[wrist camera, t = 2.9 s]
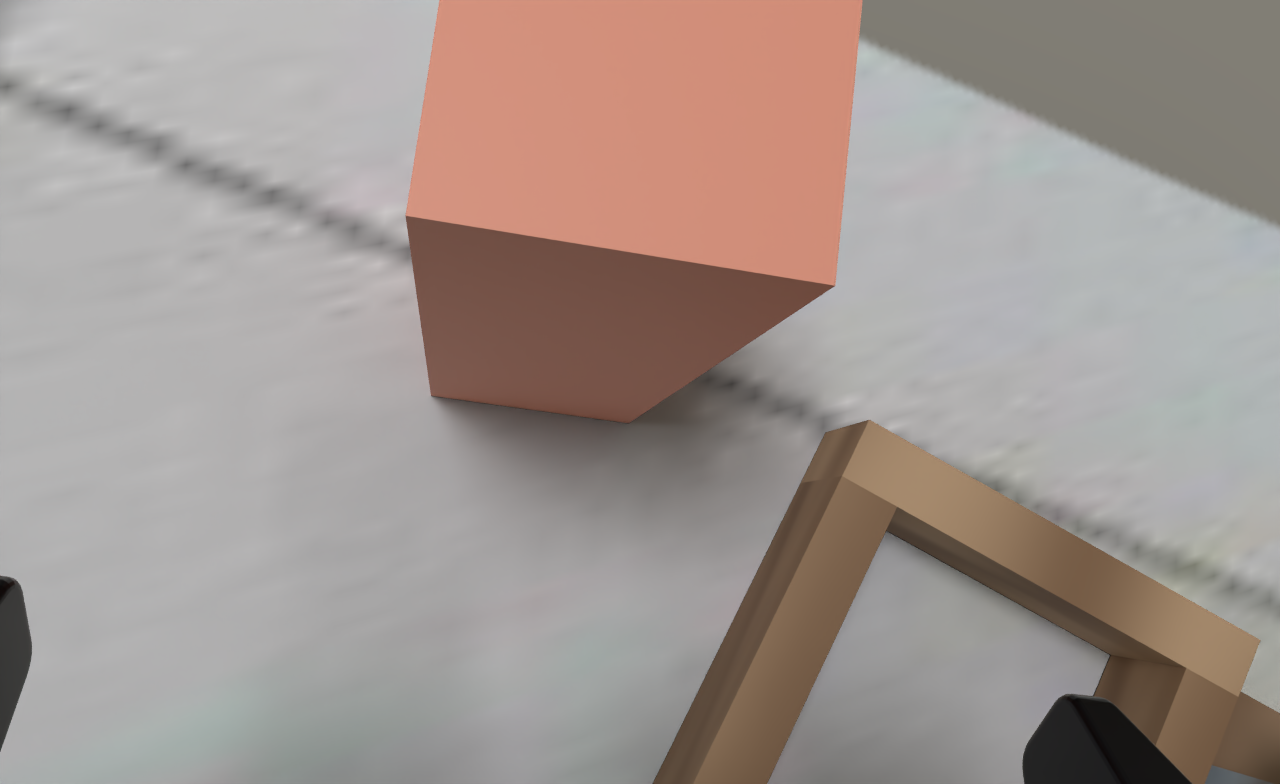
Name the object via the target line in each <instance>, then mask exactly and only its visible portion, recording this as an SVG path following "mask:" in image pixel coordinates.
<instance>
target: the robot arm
mask: <svg viewBox="0 0 1280 784" xmlns="http://www.w3.org/2000/svg"><path fill="white" fill-rule="evenodd" d="M31 655H32V642H31V636H30V630H29V625H28V619H27V614H26V608H25V603H24V597H23V592H22V589H21V586H20V584H19V583H18V581H16V580H15V579H14V578H11V577H5V576H0V751H1V748H2V745H3V742H4V740H5V737H6V734H7V731H8V728H9V725H10V722H11V720H12V717H13V714H14V711H15V708H16V705H17V703H18V700H19V697H20V694H21V691H22V688H23V685H24V683H25V680H26V677H27V674H28V671H29V667H30V662H31ZM1023 777H1024V784H1192V783H1191V782H1190V781H1189V780H1188V778H1187V777H1186V776H1185V775H1184V774H1183V773H1182V772H1181V771H1180V770H1179V769H1178V768H1177V767H1176V766H1175V765H1174V764H1173V763H1172V762H1171V761H1170V760H1169V759H1168V758H1167V757H1166V756H1165V755H1164V754H1163V753H1162V752H1161V751H1160V750H1159V749H1158V748H1157V747H1156V746H1155V745H1154V744H1153V743H1152V742H1151V741H1150V740H1149V739H1148V738H1147V737H1146V736H1145V735H1144V734H1143V733H1142V732H1141V731H1140V730H1139V729H1138V728H1137V727H1136V726H1135V724H1134V723H1133V722H1132V721H1131V720H1130V719H1129V718H1128V717H1127V716H1126V715H1125V714H1124V713H1123V712H1122V711H1121V710H1120V709H1119V708H1118V707H1117V706H1116V705H1114V704H1113V703H1112V702H1110V701H1109V700H1107V699H1105V698H1101V697H1095V696H1086V695H1077V694H1066V695H1064V696H1062V697H1060V698H1058V700H1057V701H1056V702H1055V703H1054V705H1053V706H1052V708H1051V709H1050V711H1049V712H1048V713H1047V715H1046V716H1045V718H1044V719H1043V721H1042V722H1041V724H1040V725H1039V727H1038V728H1037V730H1036V731H1035V733H1034V734H1033V736H1032V737H1031V739H1030V740H1029V742H1028V743H1027V745H1026V748H1025V751H1024V755H1023Z"/></svg>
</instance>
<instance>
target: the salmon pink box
mask: <svg viewBox="0 0 1280 784" xmlns="http://www.w3.org/2000/svg"><path fill="white" fill-rule="evenodd" d="M861 9H862V0H440V1H439V7H438V13H437V20H436V26H435V32H434V39H433V45H432V51H431V58H430V64H429V70H428V77H427V83H426V90H425V96H424V102H423V109H422V115H421V121H420V128H419V134H418V140H417V147H416V153H415V159H414V166H413V172H412V178H411V185H410V191H409V197H408V204H407V210H406V222H407V229H408V236H409V243H410V250H411V257H412V264H413V271H414V278H415V285H416V292H417V299H418V307H419V314H420V321H421V328H422V335H423V342H424V349H425V356H426V363H427V370H428V377H429V384H430V391H431V396H437V397H444V398H451V399H458V400H465V401H473V402H480V403H487V404H494V405H501V406H508V407H516V408H523V409H530V410H537V411H544V412H551V413H558V414H566V415H573V416H580V417H587V418H594V419H601V420H609V421H616V422H623V423H630V422H631V421H633V420H634V419H636V418H637V417H639V416H640V415H642V414H643V413H645V412H646V411H648V410H649V409H651V408H652V407H654V406H655V405H657V404H658V403H660V402H661V401H663V400H664V399H666V398H667V397H669V396H670V395H672V394H673V393H675V392H676V391H678V390H679V389H681V388H682V387H684V386H685V385H687V384H688V383H690V382H691V381H693V380H694V379H696V378H697V377H699V376H700V375H702V374H703V373H705V372H706V371H708V370H709V369H711V368H712V367H714V366H715V365H717V364H718V363H720V362H721V361H723V360H724V359H726V358H727V357H729V356H730V355H732V354H733V353H735V352H736V351H738V350H739V349H741V348H742V347H744V346H745V345H747V344H748V343H750V342H751V341H753V340H754V339H756V338H757V337H759V336H760V335H762V334H763V333H765V332H766V331H768V330H769V329H771V328H772V327H774V326H775V325H777V324H778V323H780V322H781V321H783V320H784V319H786V318H787V317H789V316H790V315H792V314H793V313H795V312H796V311H798V310H799V309H801V308H802V307H804V306H805V305H807V304H808V303H810V302H811V301H813V300H814V299H816V298H817V297H819V296H820V295H822V294H823V293H825V292H826V291H828V290H829V289H831V288H832V287H834V286H835V282H836V272H837V261H838V251H839V240H840V230H841V219H842V209H843V198H844V188H845V177H846V167H847V156H848V146H849V135H850V125H851V114H852V104H853V93H854V83H855V72H856V62H857V51H858V41H859V30H860V20H861Z"/></svg>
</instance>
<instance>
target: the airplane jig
mask: <svg viewBox="0 0 1280 784" xmlns="http://www.w3.org/2000/svg"><path fill="white" fill-rule="evenodd" d="M886 530H887V531H888V532H890V533H892V534H894V535H896V536H897V537H899V538H901V539H903V540H905V541H906V542H908V543H910V544H912V545H914V546H915V547H917V548H919V549H921V550H923V551H924V552H926V553H928V554H930V555H932V556H933V557H935V558H937V559H939V560H941V561H942V562H944V563H946V564H948V565H950V566H951V567H953V568H955V569H957V570H959V571H960V572H962V573H964V574H966V575H968V576H969V577H971V578H973V579H975V580H977V581H978V582H980V583H982V584H984V585H986V586H987V587H989V588H991V589H993V590H995V591H996V592H998V593H1000V594H1002V595H1004V596H1006V597H1007V598H1009V599H1011V600H1013V601H1015V602H1016V603H1018V604H1020V605H1022V606H1024V607H1025V608H1027V609H1029V610H1031V611H1033V612H1034V613H1036V614H1038V615H1040V616H1042V617H1043V618H1045V619H1047V620H1049V621H1051V622H1052V623H1054V624H1056V625H1058V626H1060V627H1061V628H1063V629H1065V630H1067V631H1069V632H1070V633H1072V634H1074V635H1076V636H1078V637H1079V638H1081V639H1083V640H1085V641H1087V642H1088V643H1090V644H1092V645H1094V646H1096V647H1097V648H1099V649H1101V650H1103V651H1105V652H1106V653H1108V654H1110V655H1111V656H1110V658H1109V661H1108V663H1107V665H1106V668H1105V670H1104V673H1103V675H1102V677H1101V680H1100V682H1099V685H1098V687H1097V690H1096V692H1095V694H1094V696H1095V697H1101V698H1105V699H1107V700H1109V701H1110V702H1112V703H1113V704H1114V705H1116V706H1117V707H1118V708H1119V709H1120V710H1121V711H1122V712H1123V713H1124V714H1125V715H1126V716H1127V717H1128V718H1129V719H1130V720H1131V721H1132V722H1133V723H1134V724H1135V726H1136V727H1137V728H1138V729H1139V730H1140V731H1141V732H1142V733H1143V734H1144V735H1145V736H1146V737H1147V738H1148V739H1149V740H1150V741H1151V742H1152V743H1153V744H1154V745H1155V746H1156V747H1157V748H1158V749H1159V750H1160V751H1161V752H1162V753H1163V754H1164V755H1165V756H1166V757H1167V758H1168V759H1169V760H1170V761H1171V762H1172V763H1173V764H1174V765H1175V766H1176V767H1177V768H1178V769H1179V770H1180V771H1181V772H1182V773H1183V774H1184V775H1185V776H1186V777H1187V778H1188V780H1189V781H1190V782H1191V783H1192V784H1280V713H1278V712H1276V711H1274V710H1273V709H1271V708H1269V707H1267V706H1265V705H1264V704H1262V703H1260V702H1258V701H1257V700H1255V699H1253V698H1251V697H1249V696H1248V695H1246V694H1244V693H1242V692H1241V689H1242V686H1243V684H1244V681H1245V679H1246V676H1247V674H1248V671H1249V668H1250V666H1251V663H1252V661H1253V658H1254V655H1255V653H1256V650H1257V648H1258V645H1259V643H1260V640H1259V639H1257V638H1256V637H1254V636H1252V635H1250V634H1249V633H1247V632H1245V631H1243V630H1241V629H1240V628H1238V627H1236V626H1234V625H1233V624H1231V623H1229V622H1227V621H1225V620H1224V619H1222V618H1220V617H1218V616H1217V615H1215V614H1213V613H1211V612H1210V611H1208V610H1206V609H1204V608H1202V607H1201V606H1199V605H1197V604H1195V603H1194V602H1192V601H1190V600H1188V599H1186V598H1185V597H1183V596H1181V595H1179V594H1178V593H1176V592H1174V591H1172V590H1170V589H1169V588H1167V587H1165V586H1163V585H1162V584H1160V583H1158V582H1156V581H1155V580H1153V579H1151V578H1149V577H1147V576H1146V575H1144V574H1142V573H1140V572H1139V571H1137V570H1135V569H1133V568H1131V567H1130V566H1128V565H1126V564H1124V563H1123V562H1121V561H1119V560H1117V559H1115V558H1114V557H1112V556H1110V555H1108V554H1107V553H1105V552H1103V551H1101V550H1100V549H1098V548H1096V547H1094V546H1092V545H1091V544H1089V543H1087V542H1085V541H1084V540H1082V539H1080V538H1078V537H1076V536H1075V535H1073V534H1071V533H1069V532H1068V531H1066V530H1064V529H1062V528H1060V527H1059V526H1057V525H1055V524H1053V523H1052V522H1050V521H1048V520H1046V519H1045V518H1043V517H1041V516H1039V515H1037V514H1036V513H1034V512H1032V511H1030V510H1029V509H1027V508H1025V507H1023V506H1021V505H1020V504H1018V503H1016V502H1014V501H1013V500H1011V499H1009V498H1007V497H1005V496H1004V495H1002V494H1000V493H998V492H997V491H995V490H993V489H991V488H990V487H988V486H986V485H984V484H982V483H981V482H979V481H977V480H975V479H974V478H972V477H970V476H968V475H966V474H965V473H963V472H961V471H959V470H958V469H956V468H954V467H952V466H950V465H949V464H947V463H945V462H943V461H942V460H940V459H938V458H936V457H934V456H933V455H931V454H929V453H927V452H926V451H924V450H922V449H920V448H919V447H917V446H915V445H913V444H911V443H910V442H908V441H906V440H904V439H903V438H901V437H899V436H897V435H895V434H894V433H892V432H890V431H888V430H887V429H885V428H883V427H881V426H879V425H878V424H876V423H874V422H872V421H871V420H867V421H864V422H860V423H857V424H853V425H850V426H846V427H843V428H840V429H836V430H833V431H829V432H826V433H825V435H824V437H823V439H822V441H821V443H820V445H819V447H818V449H817V451H816V453H815V455H814V457H813V459H812V461H811V463H810V465H809V467H808V469H807V471H806V473H805V475H804V477H803V480H802V482H801V484H800V486H799V488H798V490H797V492H796V494H795V496H794V498H793V500H792V502H791V504H790V506H789V508H788V510H787V512H786V514H785V516H784V518H783V520H782V522H781V524H780V526H779V528H778V530H777V532H776V534H775V536H774V538H773V541H772V543H771V545H770V547H769V549H768V551H767V553H766V555H765V557H764V559H763V561H762V563H761V565H760V567H759V569H758V571H757V573H756V575H755V577H754V579H753V581H752V583H751V585H750V587H749V589H748V591H747V593H746V595H745V597H744V599H743V601H742V604H741V606H740V608H739V610H738V612H737V614H736V616H735V618H734V620H733V622H732V624H731V626H730V628H729V630H728V632H727V634H726V636H725V638H724V640H723V642H722V644H721V646H720V648H719V650H718V652H717V654H716V656H715V658H714V660H713V662H712V664H711V667H710V669H709V671H708V673H707V675H706V677H705V679H704V681H703V683H702V685H701V687H700V689H699V691H698V693H697V695H696V697H695V699H694V701H693V703H692V705H691V707H690V709H689V711H688V713H687V715H686V717H685V719H684V721H683V723H682V725H681V728H680V730H679V732H678V734H677V736H676V738H675V740H674V742H673V744H672V746H671V748H670V750H669V752H668V754H667V756H666V758H665V760H664V762H663V764H662V766H661V768H660V770H659V772H658V774H657V776H656V778H655V780H654V782H653V784H767V782H768V780H769V778H770V776H771V774H772V772H773V770H774V768H775V765H776V763H777V761H778V759H779V757H780V755H781V753H782V751H783V748H784V746H785V744H786V742H787V740H788V738H789V736H790V734H791V731H792V729H793V727H794V725H795V723H796V721H797V719H798V717H799V714H800V712H801V710H802V708H803V706H804V704H805V702H806V700H807V697H808V695H809V693H810V691H811V689H812V687H813V685H814V683H815V680H816V678H817V676H818V674H819V672H820V670H821V668H822V666H823V663H824V661H825V659H826V657H827V655H828V653H829V651H830V649H831V646H832V644H833V642H834V640H835V638H836V636H837V634H838V632H839V629H840V627H841V625H842V623H843V621H844V619H845V617H846V615H847V612H848V610H849V608H850V606H851V604H852V602H853V600H854V598H855V595H856V593H857V591H858V589H859V587H860V585H861V583H862V581H863V578H864V576H865V574H866V572H867V570H868V568H869V566H870V564H871V561H872V559H873V557H874V555H875V553H876V551H877V549H878V547H879V544H880V542H881V540H882V538H883V536H884V534H885V532H886Z"/></svg>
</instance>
